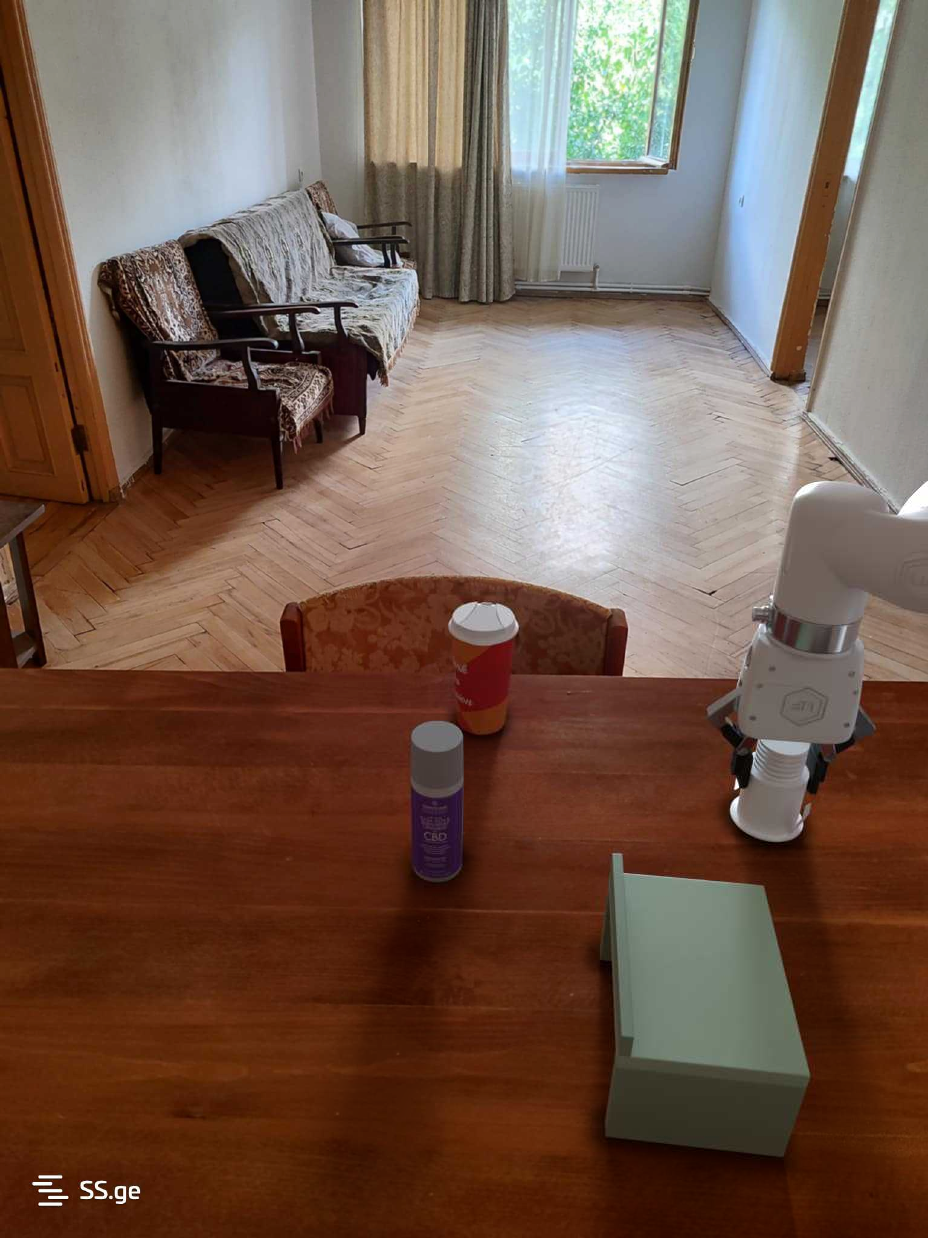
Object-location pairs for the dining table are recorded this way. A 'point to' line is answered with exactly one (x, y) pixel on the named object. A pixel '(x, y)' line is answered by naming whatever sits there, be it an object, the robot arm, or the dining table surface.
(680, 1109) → the green ledge block
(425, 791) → the container
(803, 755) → the downlight
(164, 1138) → the dining table surface
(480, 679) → the paper cup
